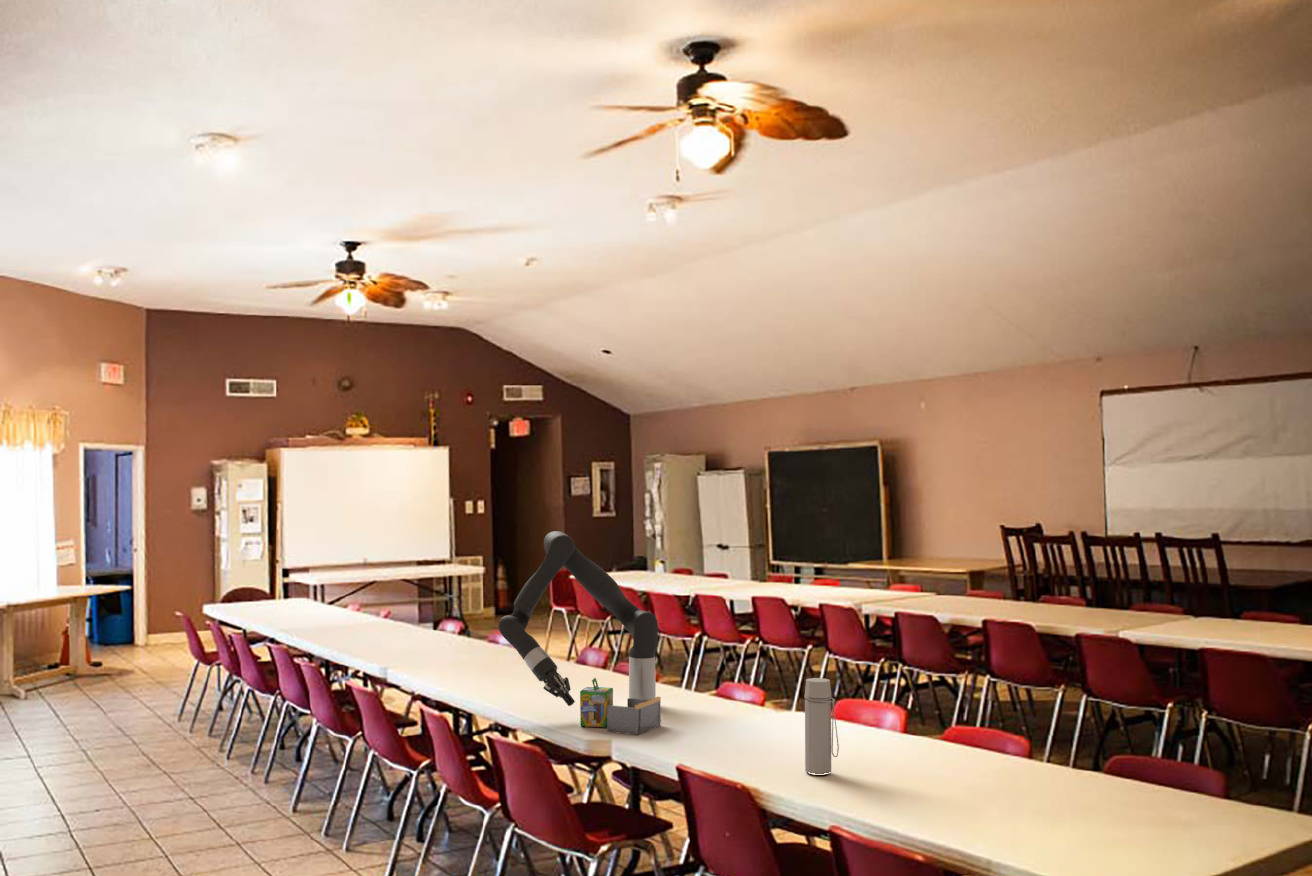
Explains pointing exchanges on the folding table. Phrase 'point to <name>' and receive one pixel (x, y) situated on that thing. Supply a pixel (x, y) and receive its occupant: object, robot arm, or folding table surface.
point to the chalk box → (595, 705)
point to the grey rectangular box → (634, 716)
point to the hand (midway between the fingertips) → (572, 704)
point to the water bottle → (818, 726)
